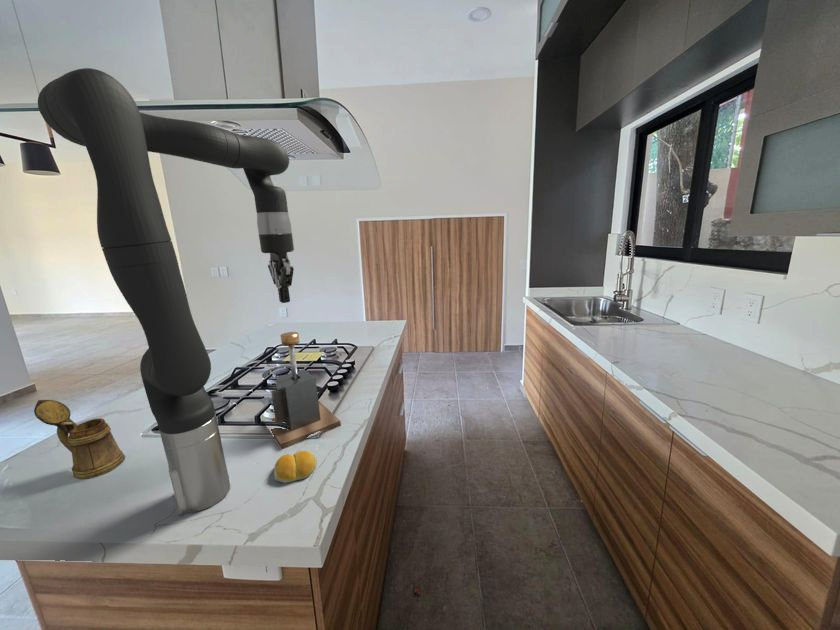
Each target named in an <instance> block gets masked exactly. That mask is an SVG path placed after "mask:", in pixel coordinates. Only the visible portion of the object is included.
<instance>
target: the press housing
mask: <svg viewBox="0 0 840 630" xmlns="http://www.w3.org/2000/svg"><path fill="white" fill-rule="evenodd" d="M297 372H298V378H299V379H296V380H292V379H293V376H292V372H291V373H288V374H284V375H279V376H276V377H275V382H276V387H277V389H275V390H272V391H271V392H270V393H271V399H272V406H273V411H274V412H273V413H274V415H275V419H276V420H277V421H279V420H282V419H283V421H284V422H285V423H286V424H287V425H288V426H289V427H290V430H291V431H293V430H296V429H299V428H301V427H304V426H306V425H309V424H312V423H314V422H317V421H320V420H321V418H320V410H319V402H320V401H319V395H318V388H317V387H318V385H317V380H316V377H315V376H313V375H312V374H311V373H310V372H309V371H308V370H306V369H302V370H297ZM318 401H319V402H318Z"/></svg>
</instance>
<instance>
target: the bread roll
mask: <svg viewBox="0 0 840 630" xmlns="http://www.w3.org/2000/svg"><path fill="white" fill-rule="evenodd" d="M317 464H318V462H317V458H316V455H315V454H314V453H312V452H311V451H308V450H299V451H297V452H294V454H287V453H286V454H283V455H281V456H280V457H279V458H278V459H277V461H276V463H275V464H274V479H275V481H278V482H281V483H285V484H286V483H292V482H295V481H298V480H303V479H307V478H308V477H310V476H311V474H312V473H313V471H314V470H315V469H316V467H317Z"/></svg>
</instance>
